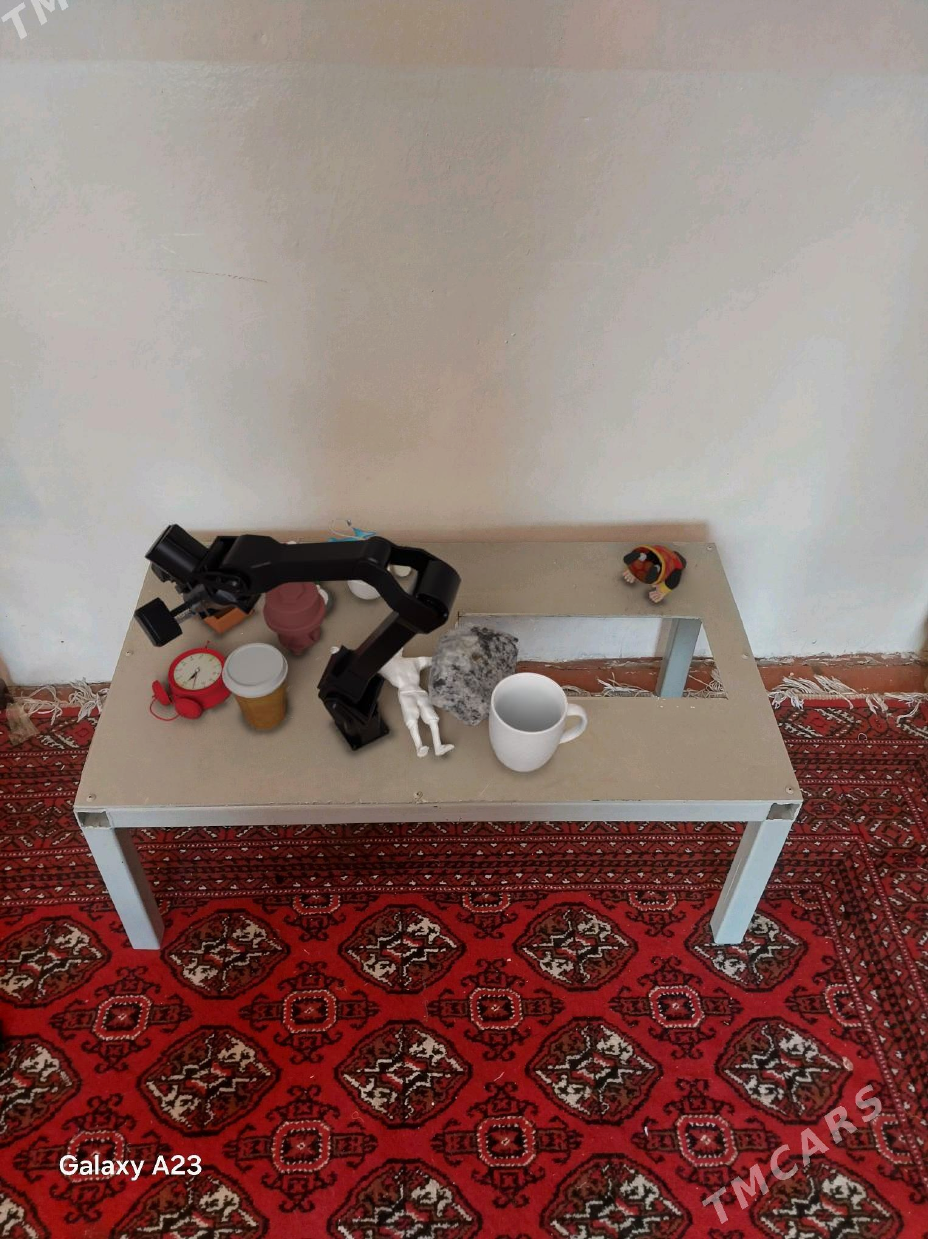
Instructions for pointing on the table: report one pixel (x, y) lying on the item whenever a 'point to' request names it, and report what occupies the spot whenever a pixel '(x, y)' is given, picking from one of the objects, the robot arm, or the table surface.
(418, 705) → the figurine
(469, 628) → the rock
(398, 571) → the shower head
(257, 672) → the disposable coffee cup
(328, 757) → the table surface
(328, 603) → the stove knob
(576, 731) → the mug
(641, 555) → the figurine
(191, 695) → the alarm clock
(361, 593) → the teacup
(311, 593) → the mechanical component
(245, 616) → the socket pad
